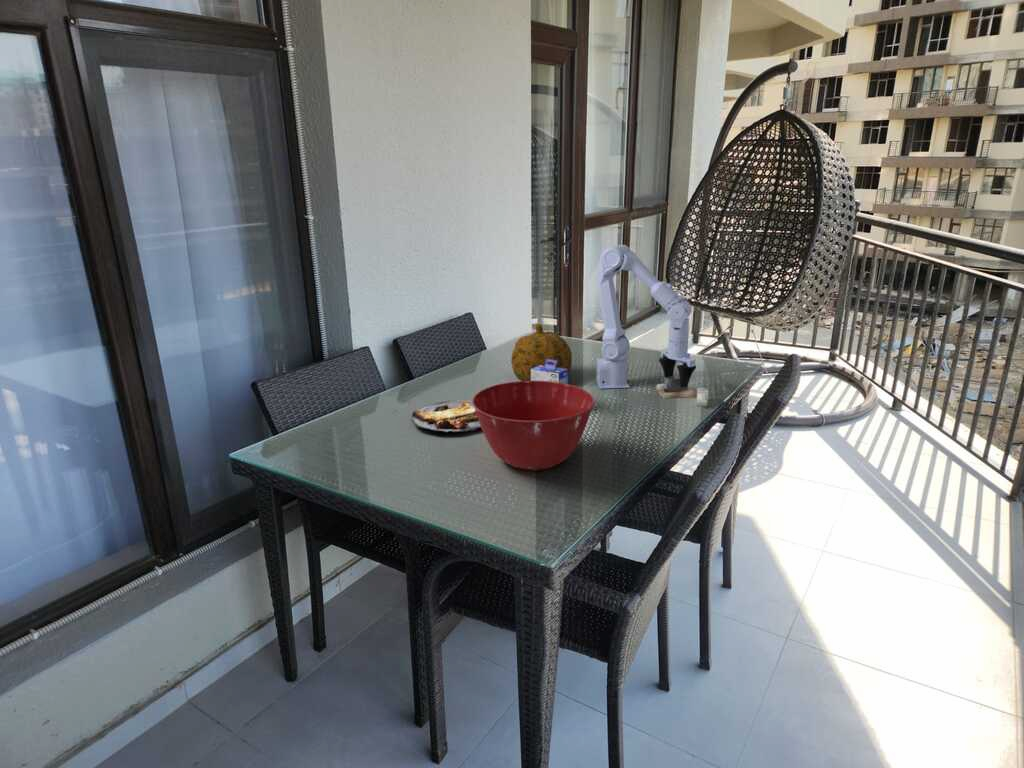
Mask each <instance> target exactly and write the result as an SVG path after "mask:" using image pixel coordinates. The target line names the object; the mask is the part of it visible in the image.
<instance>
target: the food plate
mask: <svg viewBox="0 0 1024 768" xmlns="http://www.w3.org/2000/svg"><path fill="white" fill-rule="evenodd" d="M457 418H459V419H458V421H453V420H455V419H457ZM410 420H411V421H412V423H413V424H414V425H415V426H416V427H418V428H421V429H425V430H430V431H432V432H441V434H442V433H448V432H452V433H458V432H469V431H470V432H473V431H476V430H477V429H482V428H481V425H480V423H479V420H478V417H477V414H476V410H475V408H474V406H473V404H472V400H470V399H469V400H466V399H465V400H464V399H463V400H450V401H449V400H447V401H446V400H445V401H440V402H436V403H434V404H429V405H428V406H427V405H425V406H424V407H422V408H419V409H416V410H414V411H412V415H411V418H410ZM477 422H478V423H477ZM435 426H436V427H437V428H435Z"/></svg>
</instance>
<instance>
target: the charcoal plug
mask: <svg viewBox="0 0 1024 768" xmlns="http://www.w3.org/2000/svg"><path fill="white" fill-rule="evenodd" d="M656 385H657V388H659V389H664V391H665V392H677V391H682V390H687V389H688V386H689V385H688V386H687V387H684V388H681V387H680V376H679V374H678V375H676V374H675V375H673V376H670V377H665V376H664V377H663V383H657V384H656Z"/></svg>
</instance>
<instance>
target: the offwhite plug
mask: <svg viewBox="0 0 1024 768" xmlns="http://www.w3.org/2000/svg"><path fill="white" fill-rule="evenodd" d="M696 394H697V397H696V400H697V401H696V400H695V401H696V405H697V406H698V407H700V406H701V408H705V407H708V406H709V405H708V404H709V391H708V388H707V387H698V388H696Z"/></svg>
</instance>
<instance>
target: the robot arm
mask: <svg viewBox="0 0 1024 768" xmlns="http://www.w3.org/2000/svg"><path fill="white" fill-rule="evenodd" d="M637 255H638V254H636V252H635V251H633V250H631V248H630V247H629V246H627V245H626V244H618V245H617V246H613V247H608V248H607V249H605V250H604V251H603V253H602V254H601V255H600V256H599V261H598V262H599V263H598V266H597V269H596V271H595V274H594V276H595V282H596V283H595V284H596V286H597V287H596V288H597V294H598V300H599V305H600V311H601V317H602V324H603V329H604V332H603V335H602V339H601V340H602V347H601V353H602V356H603V358H598V359H597V360H596V381H595V382H596V384H597V386H598V387H599V389H600V390H601V389H602V390H603V389H604V390H605V389H628V388H630V384H629V383H628V382H627V374H628V373H627V372H628V371H627V369H628V368H627V366H628V356H627V353H628V351H629V349H630V347H631V345H630V344H631V343H630V340H629V339H628V338H627V335H626V333H625V329H624V328H622V327H623V326H622V324H621V317H620V312H619V306H618V301H617V294H616V288H615V287H616V286H615V282H614V277H615V276H616V274H617V273H618V272H619V271H620V270H622V271H627V272H632V273H633V275H635V276H636V277H637V278H639V280H640V281H642V282H643V283H644V284H645V285H646V287H647V288H649V289H650V296H651V297H652V298H653V299H654V300H655V301H656V302H657V303H658V304H659V305H660V306H661V307H662V308H663V309H664V310H665V311H667V312H666V313H667V317H668V319H669V328H668V343H667V344H668V345H667V346H668V348H664V349H661V350H660V356H661V357H660V358H659V359H658V362H659V363H660V365H661V368H662V370H663V374H664V378H665V377H670V376H674V373H675V372H674V371H675V366H676V368H677V371H678V375H679V376H680V387H681V388H684V387H687V386H689V382H690V379H691V376H692V375H693V373H694V371H695V370H696V369H697V366H696V359H693V357H691V353H689V350H688V349H689V333H690V330H689V329H690V325H689V324H690V315H691V314H692V311H693V309H692V308H693V307H692V304H691V303H690V302H689V300H688V299H684V297H683V296H682V295H679V294H678V293H677V292H676V291H675V290H674V289H673V288H672V287H673V285H672V284H671V283H670V282H669V283H668V282H666V281H659V279H658V278H657V277H656V276H655V275H654V274H653V273H652V272H651V270H650V269H649V268H648V267H647V265H645V264H644V262H642V260H641V259H640V258H639V257H638V256H637ZM677 362H678V363H680V364H679V365H676V363H677Z"/></svg>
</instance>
